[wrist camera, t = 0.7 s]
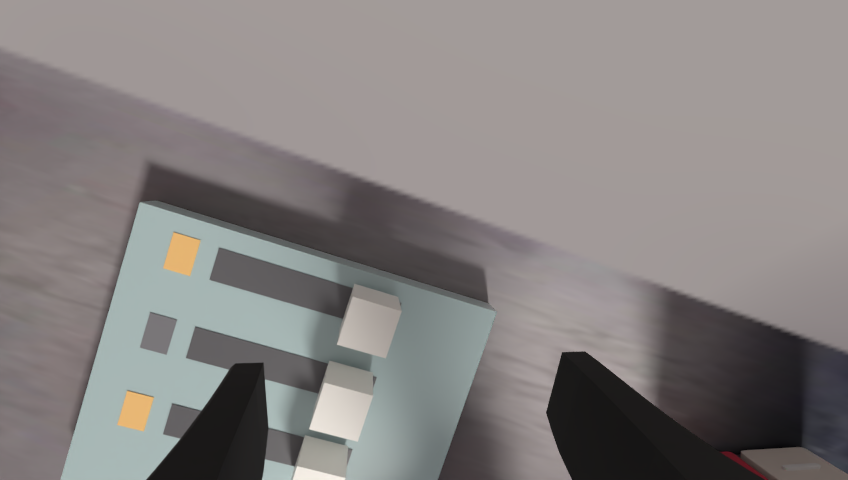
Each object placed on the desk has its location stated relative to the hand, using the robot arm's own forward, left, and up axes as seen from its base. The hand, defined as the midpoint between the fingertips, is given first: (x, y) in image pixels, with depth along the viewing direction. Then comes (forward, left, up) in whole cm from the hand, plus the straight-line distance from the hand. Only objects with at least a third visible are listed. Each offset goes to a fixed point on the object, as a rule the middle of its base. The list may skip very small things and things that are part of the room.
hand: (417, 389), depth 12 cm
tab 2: (-5, +5, -15) cm, 17 cm away
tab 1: (-2, +2, -15) cm, 15 cm away
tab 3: (-8, +8, -15) cm, 19 cm away
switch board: (-4, +8, -17) cm, 20 cm away
